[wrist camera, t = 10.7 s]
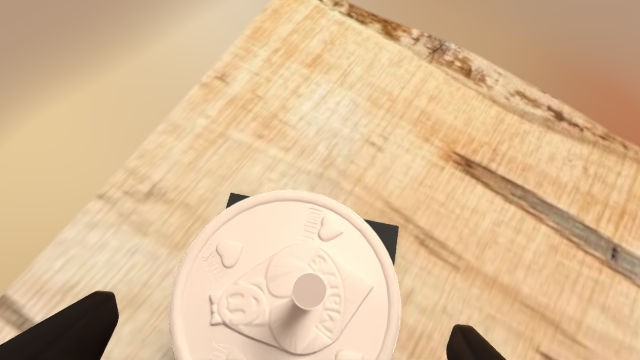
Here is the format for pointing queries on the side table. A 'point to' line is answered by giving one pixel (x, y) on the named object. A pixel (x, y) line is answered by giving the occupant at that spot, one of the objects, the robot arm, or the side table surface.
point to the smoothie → (285, 285)
